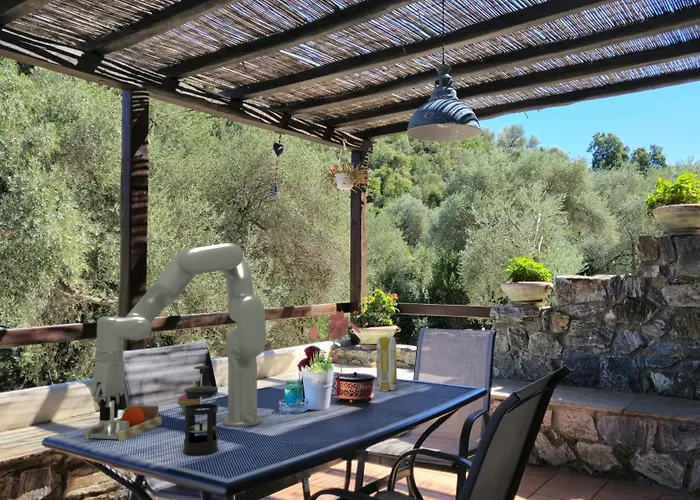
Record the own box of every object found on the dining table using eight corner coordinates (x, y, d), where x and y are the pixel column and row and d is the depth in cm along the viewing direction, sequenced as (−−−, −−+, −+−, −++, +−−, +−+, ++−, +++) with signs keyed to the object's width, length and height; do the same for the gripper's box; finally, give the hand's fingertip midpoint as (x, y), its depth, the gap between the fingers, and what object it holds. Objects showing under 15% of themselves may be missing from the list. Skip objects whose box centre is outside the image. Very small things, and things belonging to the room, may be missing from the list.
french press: (226, 451, 162) (227, 366, 164) (196, 458, 156) (197, 369, 157) (202, 444, 170) (203, 362, 172) (172, 450, 163) (173, 366, 165)
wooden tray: (127, 423, 199) (128, 404, 199) (161, 424, 196) (161, 406, 196) (84, 439, 177) (85, 418, 178) (121, 441, 175) (122, 420, 175)
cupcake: (190, 410, 220) (190, 377, 221) (207, 412, 216) (207, 378, 216) (172, 414, 212) (172, 380, 213) (189, 416, 208) (190, 382, 209)
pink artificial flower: (303, 395, 248) (305, 311, 250) (349, 388, 266) (350, 309, 268) (327, 401, 237) (328, 312, 239) (373, 393, 255) (374, 311, 256)
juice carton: (394, 392, 255) (393, 335, 257) (376, 391, 257) (375, 335, 258) (397, 388, 264) (396, 334, 266) (380, 388, 266) (379, 334, 268)
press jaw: (102, 433, 183) (102, 398, 184) (128, 434, 181) (129, 399, 182) (89, 437, 177) (90, 401, 178) (117, 439, 175) (118, 402, 176)
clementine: (125, 433, 185) (125, 409, 185) (114, 429, 189) (114, 407, 190) (148, 428, 191) (148, 405, 191) (137, 425, 195) (137, 403, 196)
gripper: (115, 354, 189) (114, 413, 188) (81, 360, 173) (79, 424, 172) (136, 354, 187) (135, 414, 186) (104, 360, 171) (102, 425, 170)
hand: (108, 418), depth 179 cm, fingers closed on press jaw, 3 cm apart
